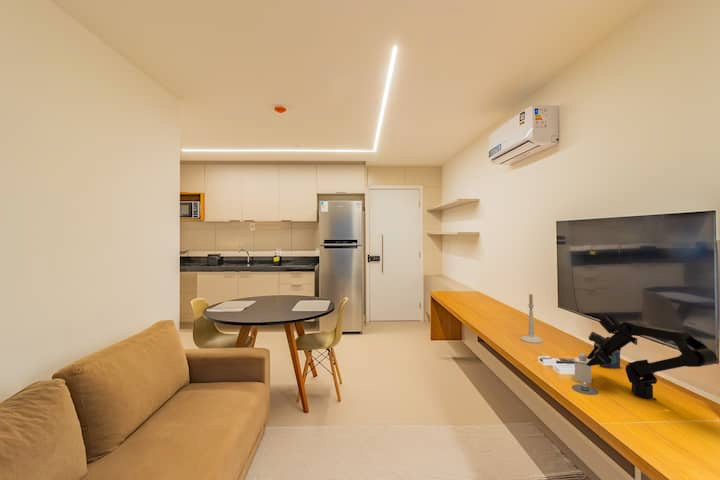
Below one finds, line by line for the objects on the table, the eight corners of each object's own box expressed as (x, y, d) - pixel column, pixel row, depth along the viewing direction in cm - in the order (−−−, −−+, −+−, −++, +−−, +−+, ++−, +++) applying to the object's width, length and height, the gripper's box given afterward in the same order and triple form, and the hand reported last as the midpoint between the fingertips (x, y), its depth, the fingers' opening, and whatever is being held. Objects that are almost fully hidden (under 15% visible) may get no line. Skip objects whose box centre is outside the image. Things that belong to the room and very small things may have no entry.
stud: (591, 390, 148) (591, 383, 148) (584, 391, 148) (584, 384, 148) (585, 387, 152) (585, 380, 152) (578, 387, 151) (578, 381, 151)
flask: (618, 366, 176) (618, 345, 175) (621, 368, 173) (621, 347, 173) (598, 365, 178) (598, 345, 177) (601, 367, 175) (601, 347, 175)
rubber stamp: (591, 380, 161) (590, 352, 160) (591, 385, 155) (591, 357, 155) (574, 377, 164) (574, 350, 164) (574, 382, 159) (574, 354, 158)
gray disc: (604, 396, 146) (604, 393, 146) (583, 398, 144) (583, 395, 144) (586, 385, 155) (585, 383, 155) (566, 387, 154) (566, 385, 154)
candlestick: (545, 343, 213) (545, 295, 212) (524, 343, 215) (523, 295, 214) (538, 337, 226) (538, 292, 225) (517, 336, 228) (517, 291, 227)
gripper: (600, 322, 163) (573, 342, 170) (601, 332, 148) (572, 353, 154) (621, 341, 159) (592, 360, 165) (625, 354, 143) (593, 374, 150)
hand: (587, 361), depth 159 cm, fingers open, 9 cm apart
